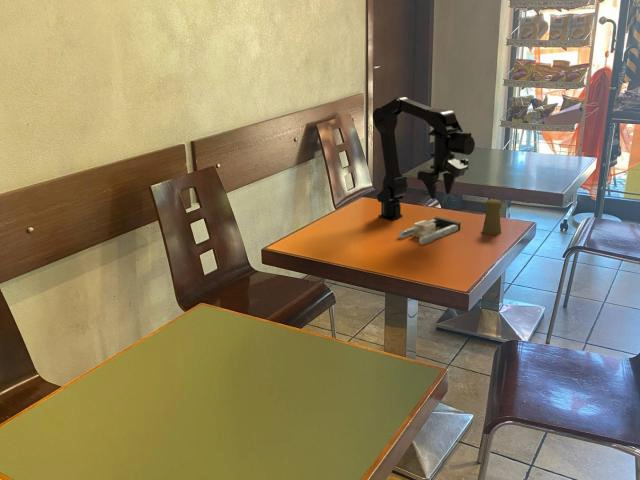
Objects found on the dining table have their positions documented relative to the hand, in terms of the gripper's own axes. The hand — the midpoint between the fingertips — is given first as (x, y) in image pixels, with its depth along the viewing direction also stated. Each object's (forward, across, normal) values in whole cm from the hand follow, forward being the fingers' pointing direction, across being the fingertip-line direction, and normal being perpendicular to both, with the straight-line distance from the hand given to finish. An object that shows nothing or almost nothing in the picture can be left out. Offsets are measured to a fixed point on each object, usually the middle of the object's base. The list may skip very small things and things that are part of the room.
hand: (440, 196), depth 207 cm
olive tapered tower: (+12, +10, -14) cm, 21 cm away
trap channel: (+12, -5, 0) cm, 13 cm away
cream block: (+12, -8, 0) cm, 14 cm away
